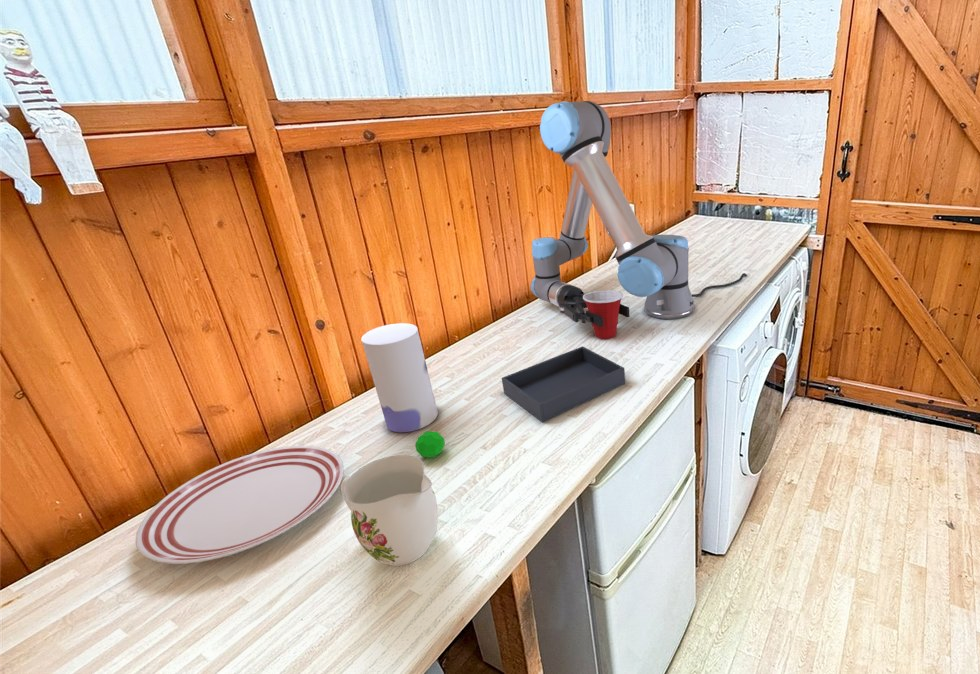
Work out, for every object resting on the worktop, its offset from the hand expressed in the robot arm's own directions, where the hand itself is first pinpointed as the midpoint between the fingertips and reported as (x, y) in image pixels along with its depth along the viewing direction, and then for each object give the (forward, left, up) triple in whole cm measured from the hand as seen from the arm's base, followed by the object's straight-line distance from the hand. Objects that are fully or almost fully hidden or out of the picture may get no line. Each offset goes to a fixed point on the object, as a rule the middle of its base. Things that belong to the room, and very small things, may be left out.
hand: (615, 317), depth 138 cm
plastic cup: (+1, -5, -7) cm, 8 cm away
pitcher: (+58, +49, -7) cm, 76 cm away
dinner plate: (+79, +27, -7) cm, 84 cm away
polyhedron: (+51, +27, -7) cm, 58 cm away
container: (+53, +12, -7) cm, 55 cm away
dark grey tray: (+21, +17, -7) cm, 28 cm away
